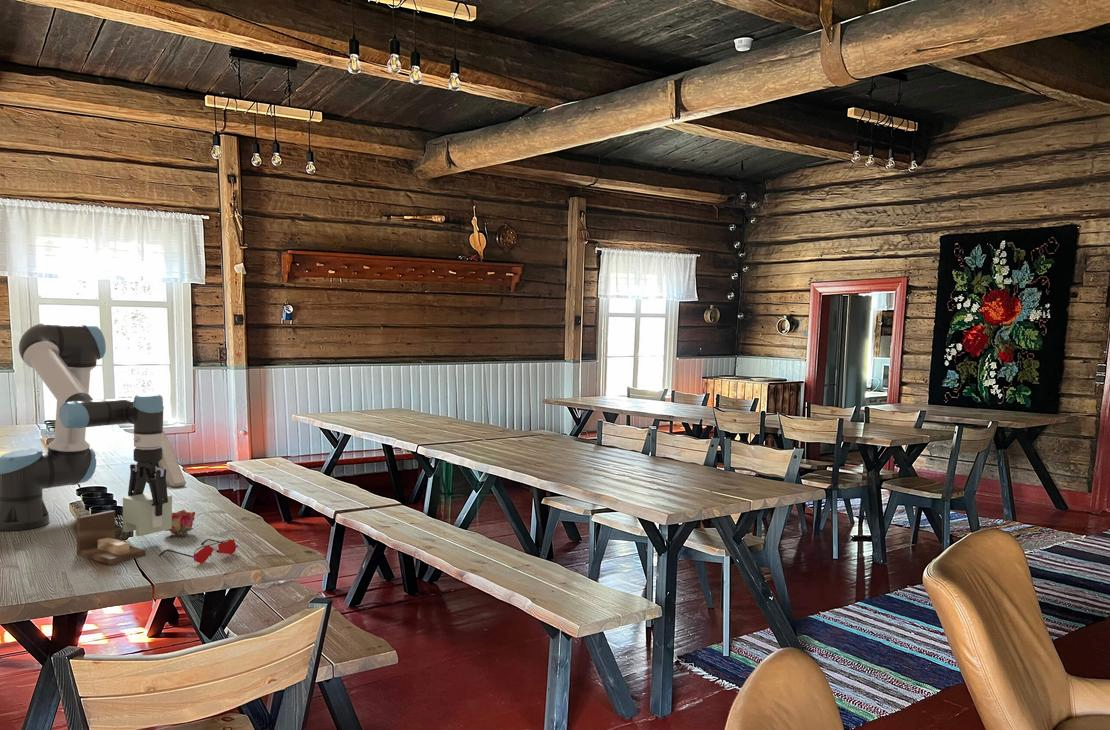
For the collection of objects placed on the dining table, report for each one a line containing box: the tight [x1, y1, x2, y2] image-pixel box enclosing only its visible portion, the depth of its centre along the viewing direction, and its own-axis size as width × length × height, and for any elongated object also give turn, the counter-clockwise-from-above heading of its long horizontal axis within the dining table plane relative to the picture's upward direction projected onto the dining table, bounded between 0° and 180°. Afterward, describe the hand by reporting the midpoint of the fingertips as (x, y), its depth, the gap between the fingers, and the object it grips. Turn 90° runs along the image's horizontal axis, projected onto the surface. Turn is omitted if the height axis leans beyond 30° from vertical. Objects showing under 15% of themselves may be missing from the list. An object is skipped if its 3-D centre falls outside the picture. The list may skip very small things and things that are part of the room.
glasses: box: [158, 538, 239, 564], centre depth 221 cm, size 14×16×5 cm
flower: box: [164, 509, 199, 538], centre depth 239 cm, size 10×9×8 cm
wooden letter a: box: [159, 430, 187, 488], centre depth 317 cm, size 22×4×30 cm
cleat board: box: [76, 510, 146, 565], centre depth 218 cm, size 16×10×10 cm, turn 60°
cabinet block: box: [122, 491, 173, 537], centre depth 228 cm, size 11×8×10 cm
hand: (147, 523), depth 228 cm, fingers closed on cabinet block, 8 cm apart
